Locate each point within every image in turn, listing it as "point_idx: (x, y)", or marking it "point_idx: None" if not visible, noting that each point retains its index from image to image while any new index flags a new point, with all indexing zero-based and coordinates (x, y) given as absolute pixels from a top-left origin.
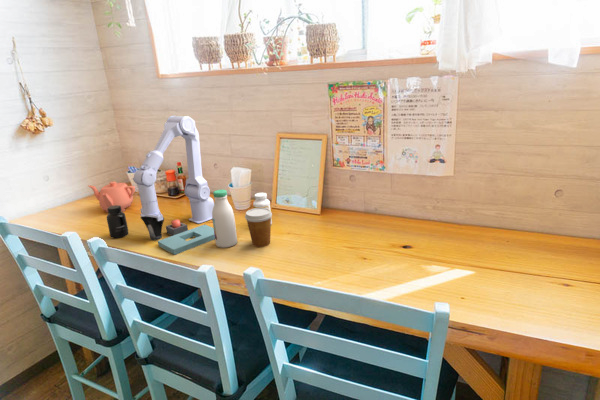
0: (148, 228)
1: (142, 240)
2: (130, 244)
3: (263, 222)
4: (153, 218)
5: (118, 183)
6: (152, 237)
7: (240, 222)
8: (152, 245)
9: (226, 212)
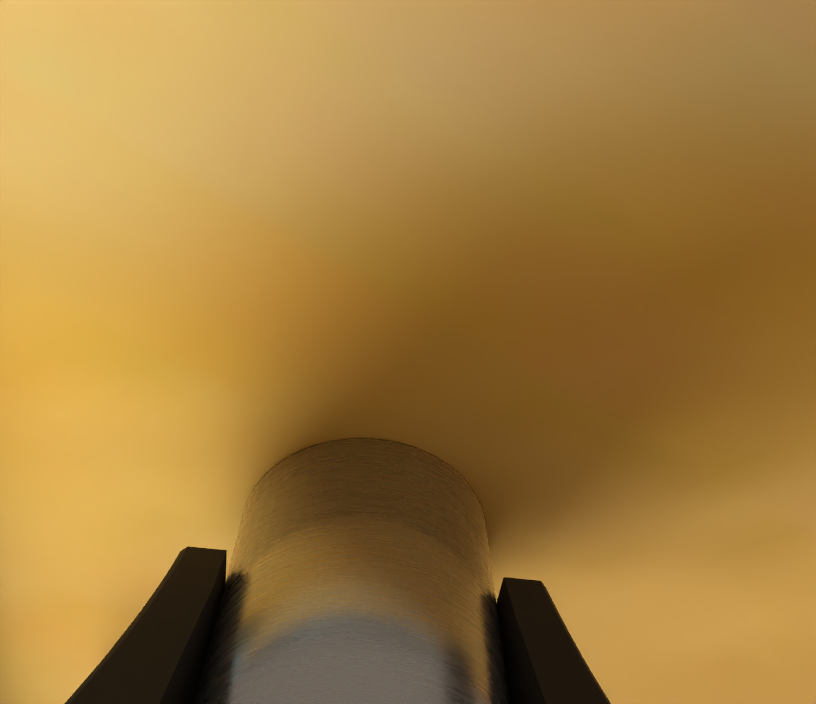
0: (376, 686)
1: (547, 338)
2: (639, 22)
3: None
4: None
5: None
6: (296, 496)
7: None
8: (33, 293)
9: None
